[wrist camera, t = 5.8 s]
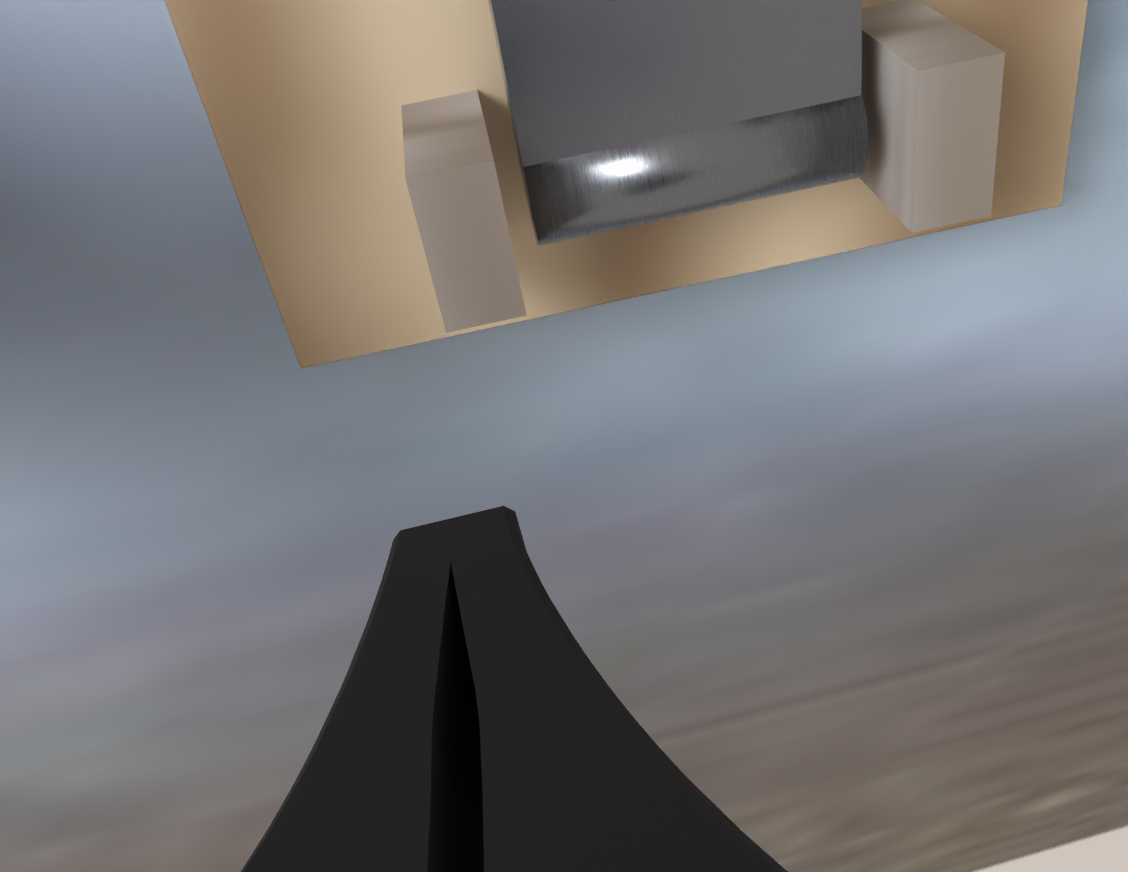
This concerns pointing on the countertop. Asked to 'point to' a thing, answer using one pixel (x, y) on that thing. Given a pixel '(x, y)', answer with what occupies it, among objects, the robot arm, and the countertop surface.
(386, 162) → the latch board
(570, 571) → the countertop surface
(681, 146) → the latch bar
